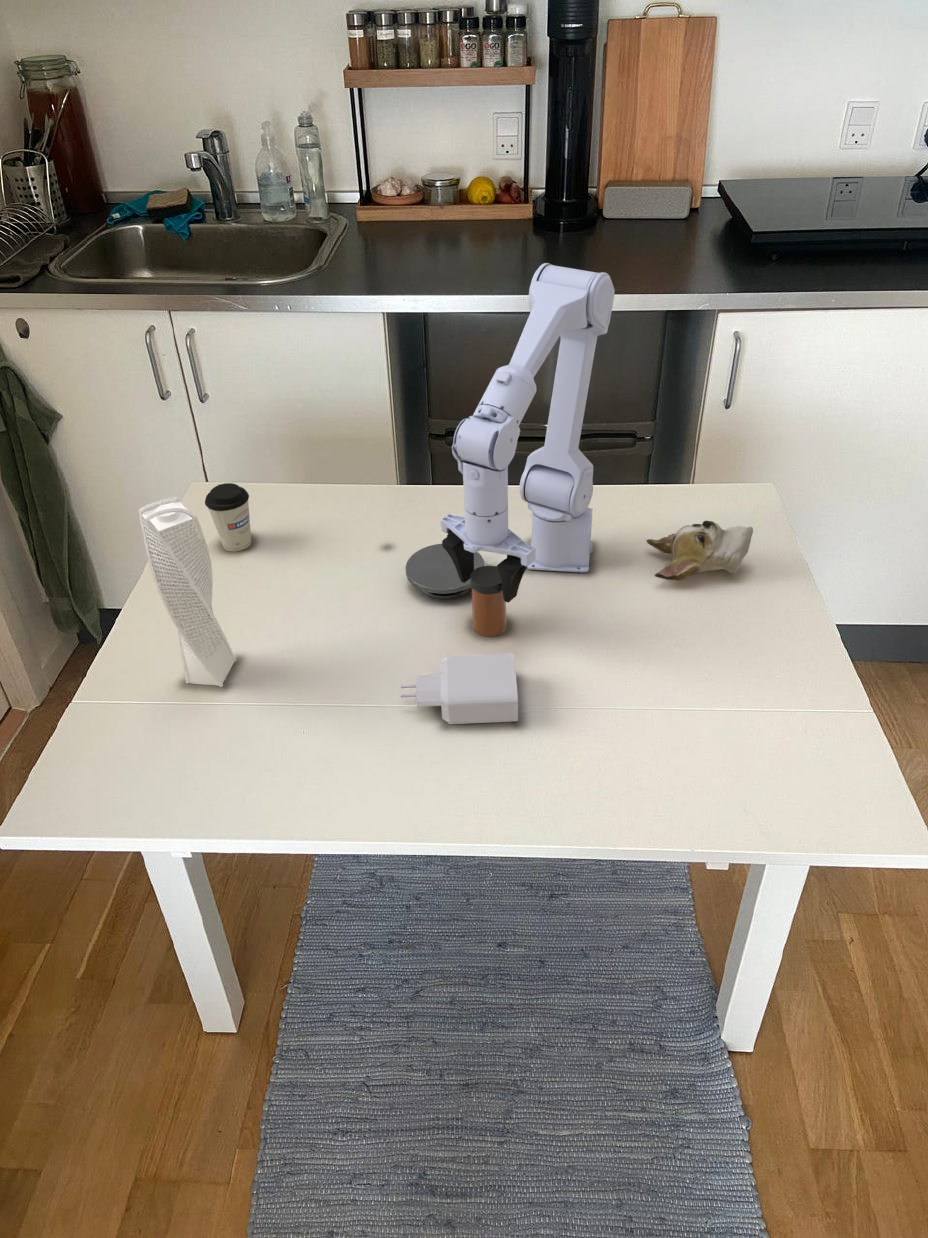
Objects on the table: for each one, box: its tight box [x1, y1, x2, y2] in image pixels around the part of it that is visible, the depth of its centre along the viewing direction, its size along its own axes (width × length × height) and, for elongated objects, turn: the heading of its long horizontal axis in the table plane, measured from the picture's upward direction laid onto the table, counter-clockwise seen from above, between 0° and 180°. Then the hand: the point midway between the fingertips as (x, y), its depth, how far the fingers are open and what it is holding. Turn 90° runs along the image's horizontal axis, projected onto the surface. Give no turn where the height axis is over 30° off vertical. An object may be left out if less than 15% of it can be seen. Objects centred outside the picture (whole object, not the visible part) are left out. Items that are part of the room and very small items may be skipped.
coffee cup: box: [204, 482, 252, 552], centre depth 151 cm, size 7×7×10 cm
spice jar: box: [470, 565, 507, 637], centre depth 132 cm, size 5×5×9 cm
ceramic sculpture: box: [646, 520, 754, 582], centre depth 141 cm, size 11×9×15 cm
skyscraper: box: [137, 496, 237, 688], centre depth 120 cm, size 8×8×28 cm
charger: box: [399, 652, 519, 725], centre depth 121 cm, size 5×9×15 cm
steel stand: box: [405, 543, 486, 600], centre depth 142 cm, size 12×12×3 cm
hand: (488, 588), depth 130 cm, fingers open, 7 cm apart
